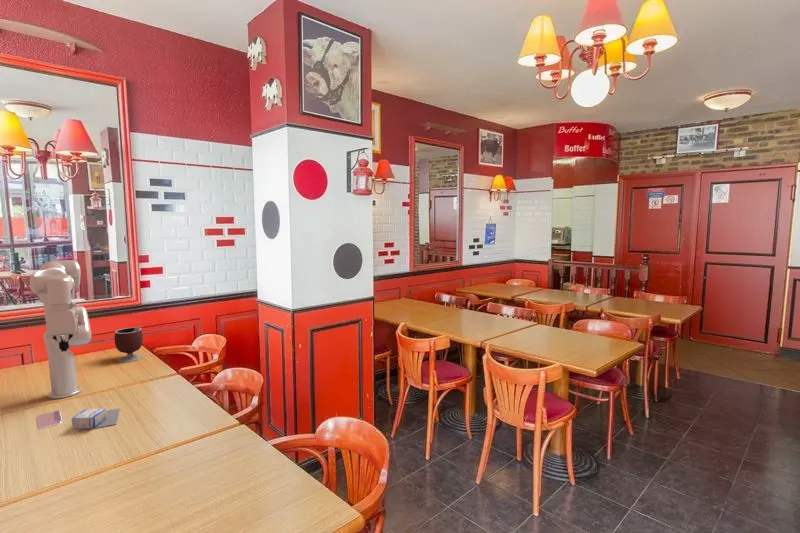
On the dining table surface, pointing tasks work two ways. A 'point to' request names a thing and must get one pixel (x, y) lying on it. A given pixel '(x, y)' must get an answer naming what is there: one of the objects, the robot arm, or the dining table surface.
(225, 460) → the dining table surface
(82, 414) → the medicine box
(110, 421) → the mat
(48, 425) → the mobile phone
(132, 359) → the mate gourd
